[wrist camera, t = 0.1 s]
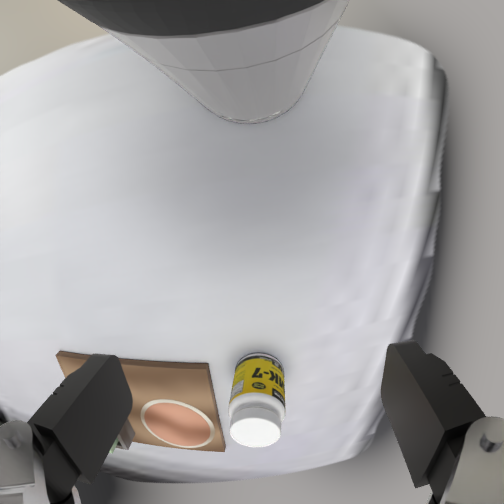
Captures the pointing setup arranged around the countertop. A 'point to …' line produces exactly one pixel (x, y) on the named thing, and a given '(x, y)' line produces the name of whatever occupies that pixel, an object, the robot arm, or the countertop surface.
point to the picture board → (165, 404)
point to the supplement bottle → (257, 401)
